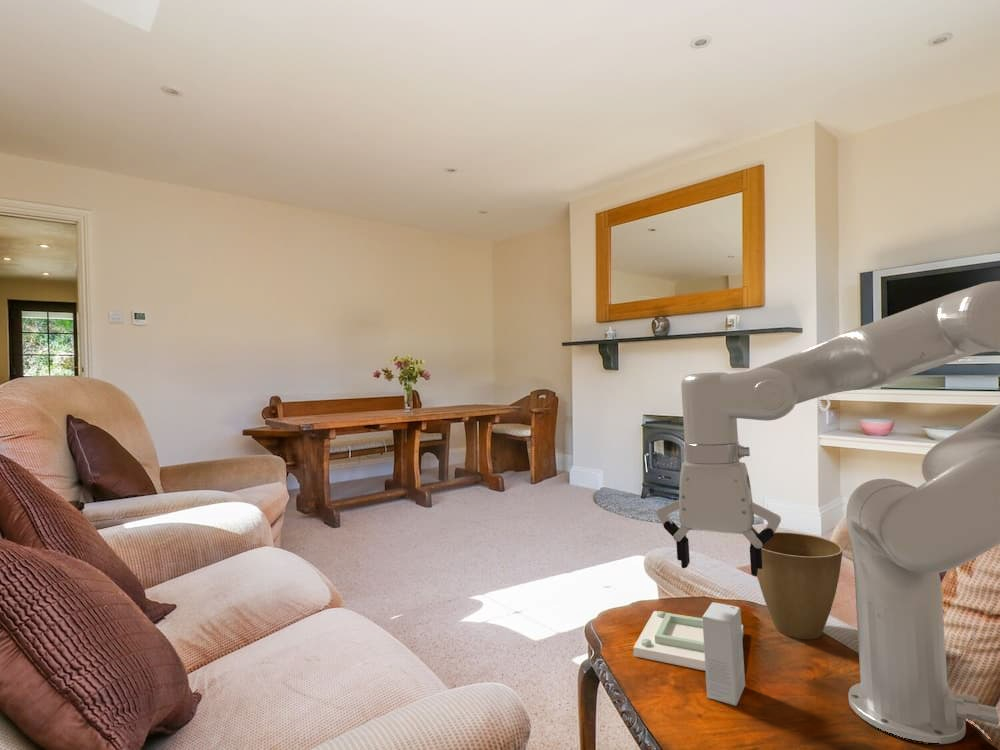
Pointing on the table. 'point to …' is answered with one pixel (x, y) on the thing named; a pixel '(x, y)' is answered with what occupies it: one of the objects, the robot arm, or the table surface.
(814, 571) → the plant pot
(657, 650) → the baseplate
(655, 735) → the table surface
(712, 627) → the skincare box
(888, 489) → the robot arm
